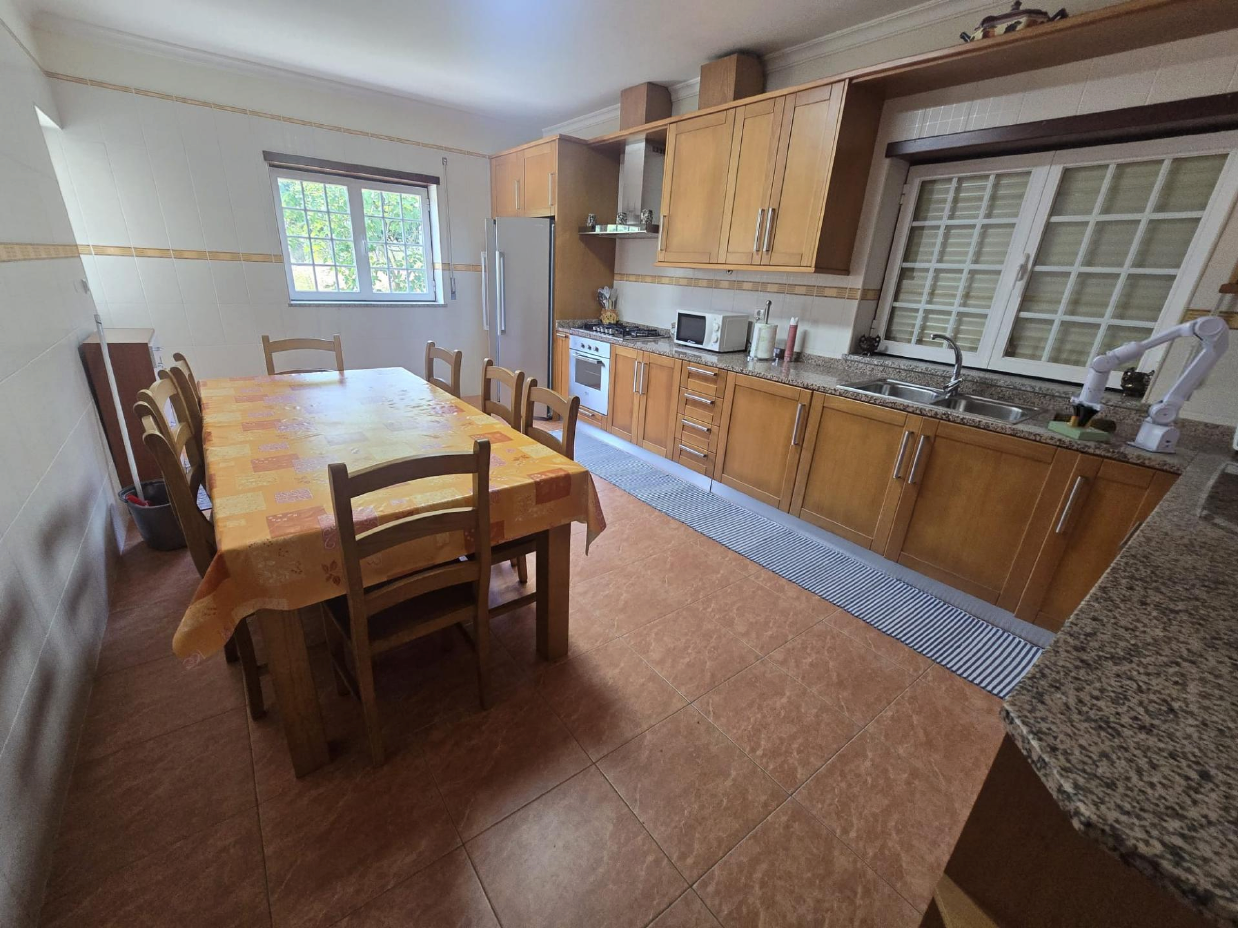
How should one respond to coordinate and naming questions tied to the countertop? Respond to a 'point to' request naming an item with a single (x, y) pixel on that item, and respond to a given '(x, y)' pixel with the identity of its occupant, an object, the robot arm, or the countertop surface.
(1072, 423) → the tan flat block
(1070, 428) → the green flat block
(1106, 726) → the countertop surface
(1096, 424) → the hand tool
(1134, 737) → the countertop surface
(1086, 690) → the countertop surface
